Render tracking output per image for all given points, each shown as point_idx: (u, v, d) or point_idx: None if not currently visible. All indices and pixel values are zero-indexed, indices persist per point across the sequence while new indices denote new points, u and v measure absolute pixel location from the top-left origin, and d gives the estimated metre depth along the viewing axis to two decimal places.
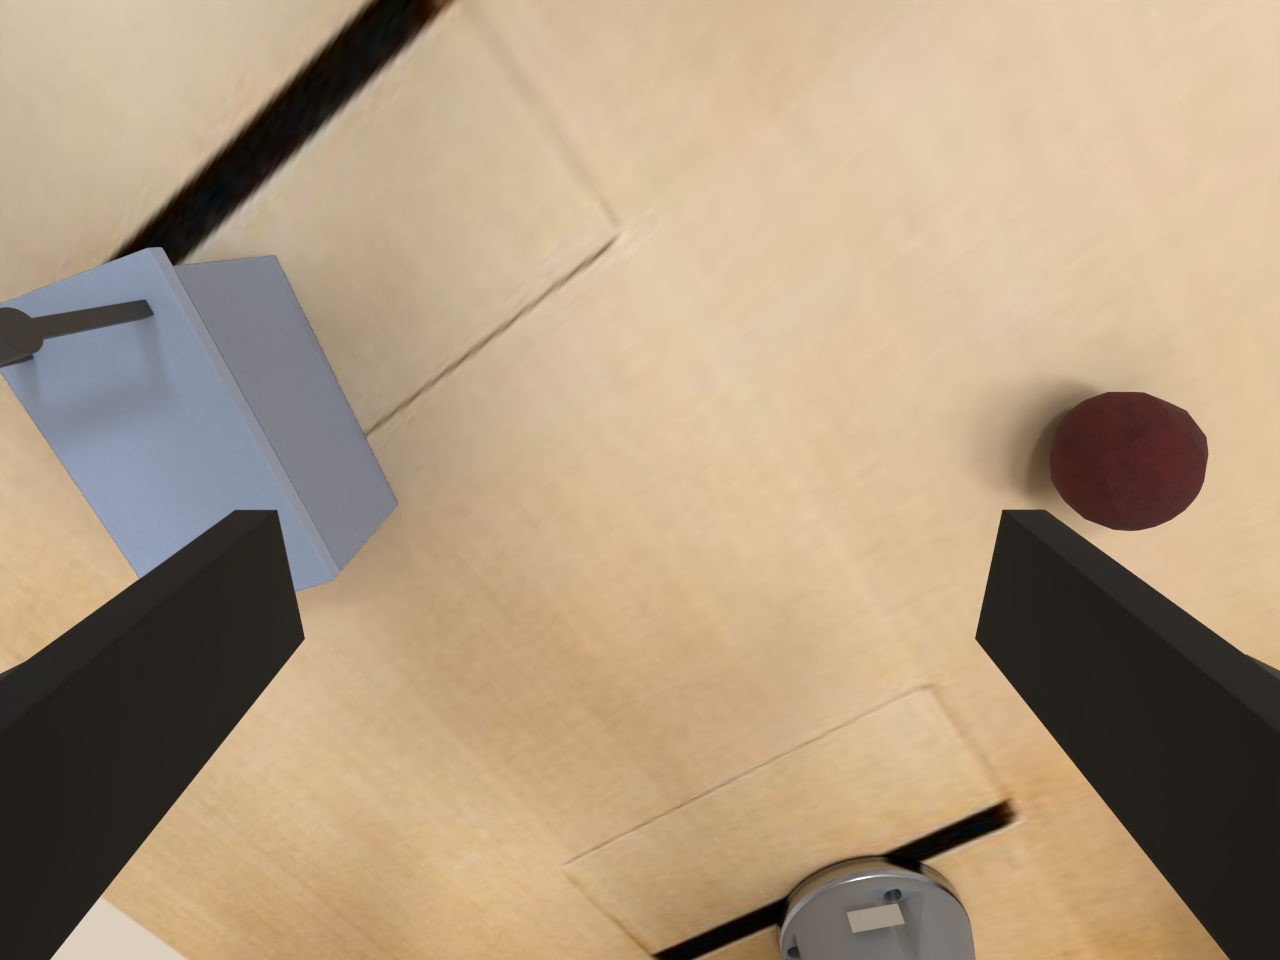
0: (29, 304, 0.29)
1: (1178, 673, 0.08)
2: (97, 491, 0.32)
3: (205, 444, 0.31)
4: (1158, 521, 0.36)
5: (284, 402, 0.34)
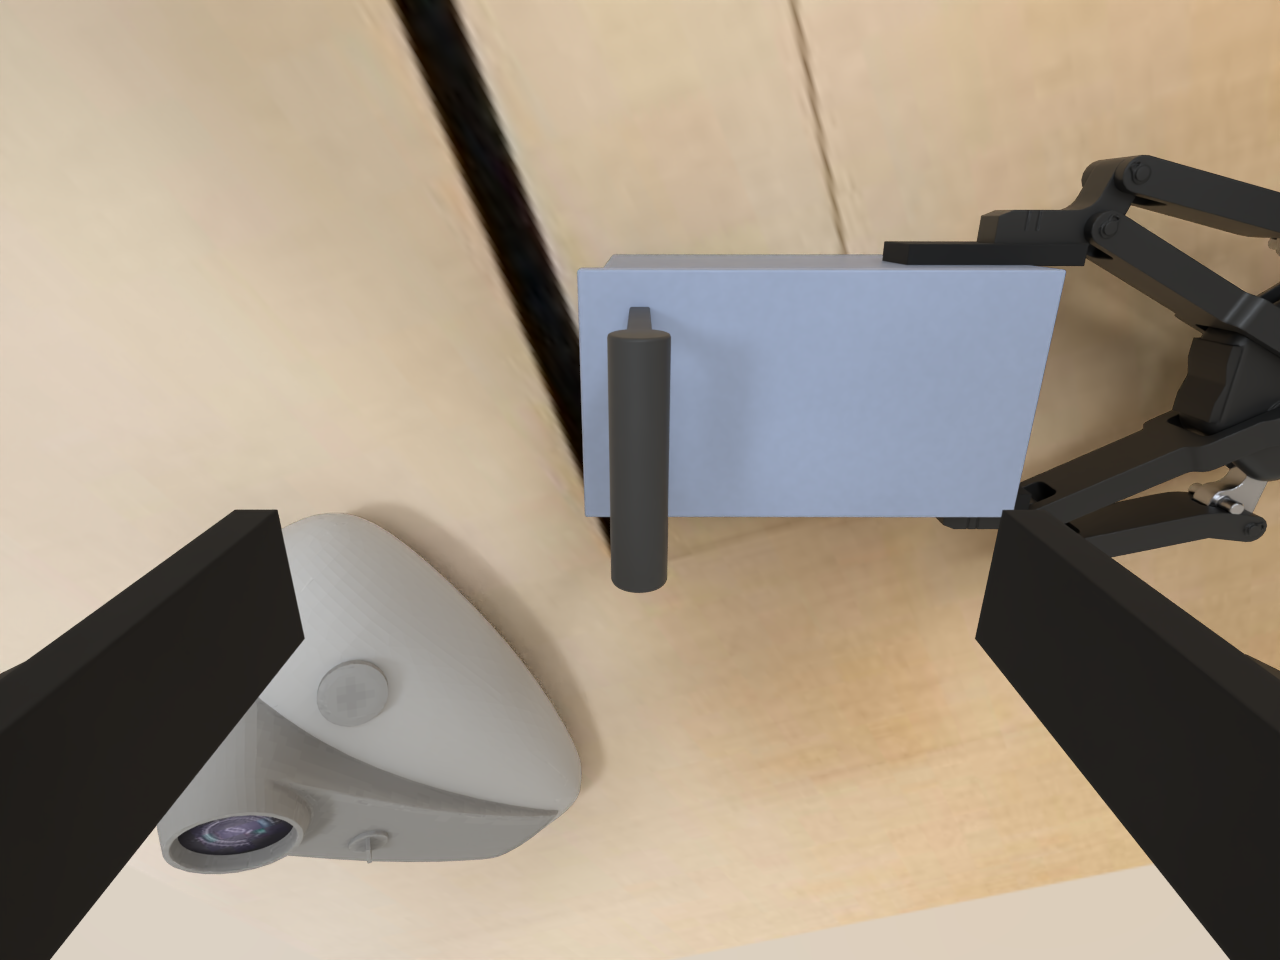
0: (594, 441, 0.25)
1: (1178, 673, 0.08)
2: (813, 498, 0.26)
3: (816, 337, 0.23)
4: None
5: (790, 262, 0.26)
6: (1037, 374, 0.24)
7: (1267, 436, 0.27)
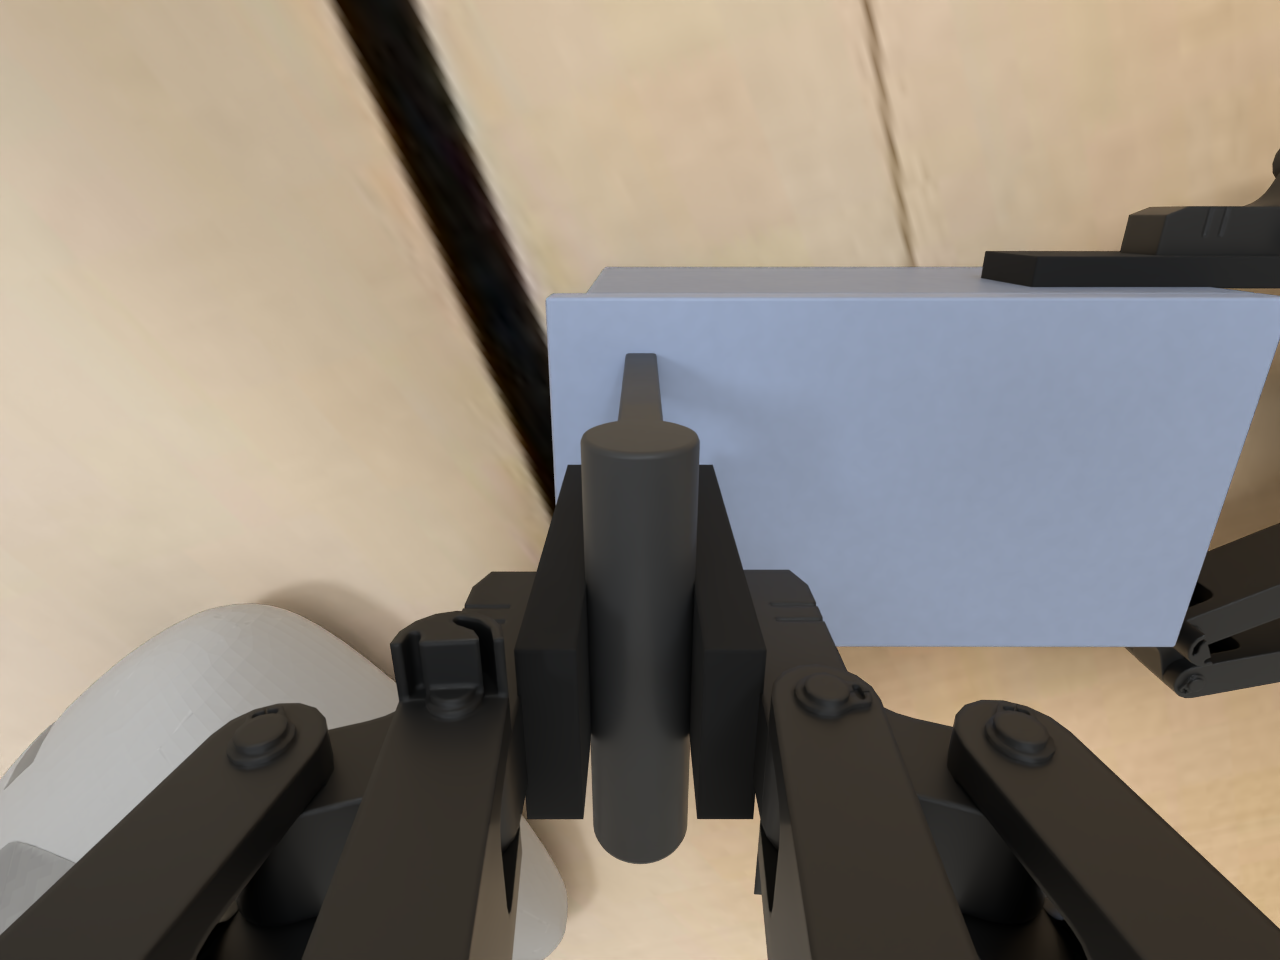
0: None
1: None
2: (890, 622, 0.18)
3: (906, 397, 0.16)
4: None
5: (855, 282, 0.18)
6: (1233, 450, 0.16)
7: None
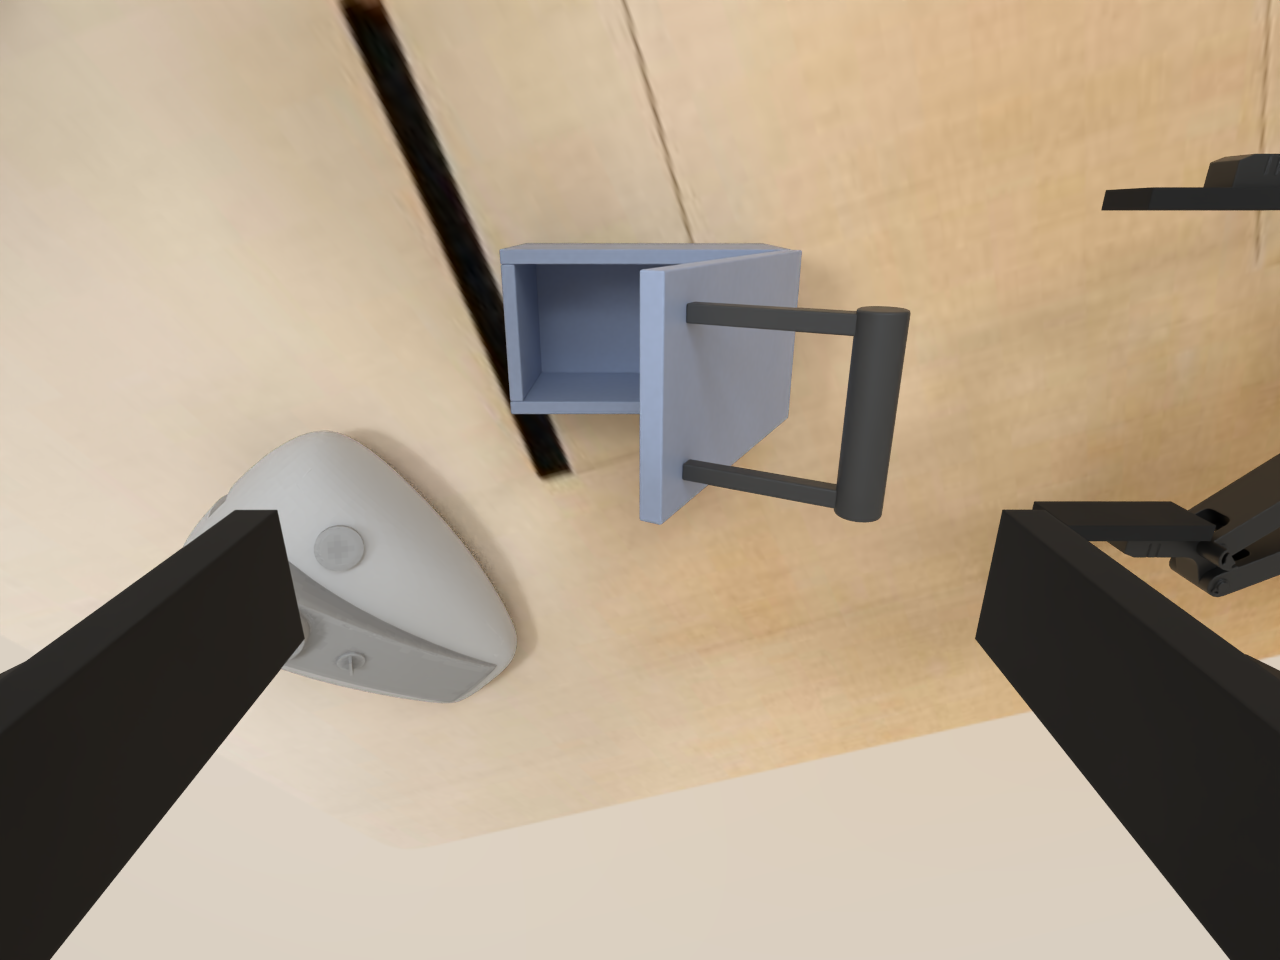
0: (667, 444, 0.24)
1: (1178, 673, 0.08)
2: (742, 441, 0.32)
3: None
4: None
5: (632, 247, 0.39)
6: None
7: None
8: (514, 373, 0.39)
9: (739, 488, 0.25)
